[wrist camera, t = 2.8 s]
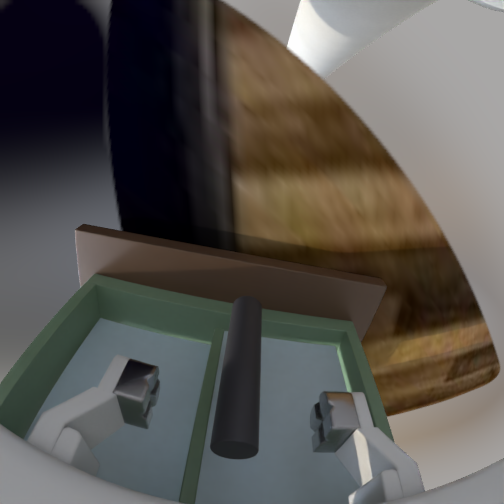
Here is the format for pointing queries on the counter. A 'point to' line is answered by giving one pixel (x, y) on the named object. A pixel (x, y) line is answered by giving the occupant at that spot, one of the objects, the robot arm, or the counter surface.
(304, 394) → the sliding pane
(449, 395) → the counter surface
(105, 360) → the window frame
